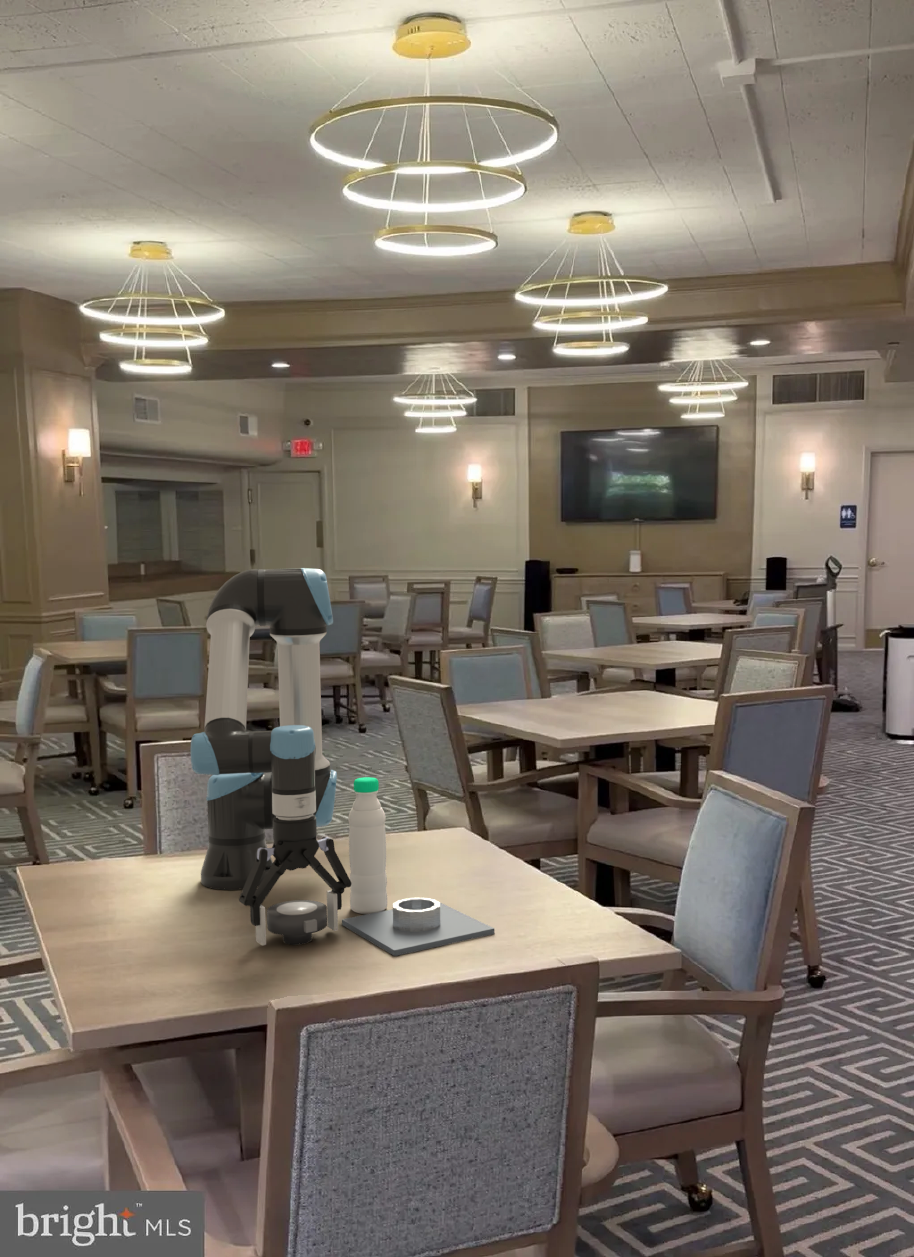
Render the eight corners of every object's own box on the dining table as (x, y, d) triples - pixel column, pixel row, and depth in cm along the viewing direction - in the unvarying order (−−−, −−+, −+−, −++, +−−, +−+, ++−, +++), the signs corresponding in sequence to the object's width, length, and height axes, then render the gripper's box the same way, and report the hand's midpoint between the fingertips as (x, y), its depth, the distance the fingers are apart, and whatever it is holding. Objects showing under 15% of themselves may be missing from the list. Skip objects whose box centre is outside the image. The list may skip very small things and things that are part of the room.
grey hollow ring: (384, 921, 204) (384, 902, 204) (425, 913, 209) (425, 894, 209) (407, 934, 197) (407, 914, 197) (449, 925, 202) (448, 906, 201)
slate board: (341, 924, 206) (341, 919, 206) (436, 905, 217) (436, 900, 217) (394, 956, 189) (394, 950, 189) (494, 933, 200) (494, 928, 200)
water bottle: (381, 915, 211) (379, 782, 210) (345, 914, 213) (342, 781, 211) (391, 904, 218) (389, 775, 217) (356, 903, 220) (353, 774, 218)
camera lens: (256, 936, 201) (255, 904, 201) (310, 925, 206) (309, 894, 206) (283, 955, 191) (282, 922, 190) (339, 943, 196) (339, 911, 196)
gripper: (233, 829, 188) (237, 955, 189) (368, 809, 201) (370, 928, 202) (218, 821, 194) (221, 943, 195) (349, 802, 207) (352, 917, 208)
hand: (297, 935), depth 198 cm, fingers open, 13 cm apart
